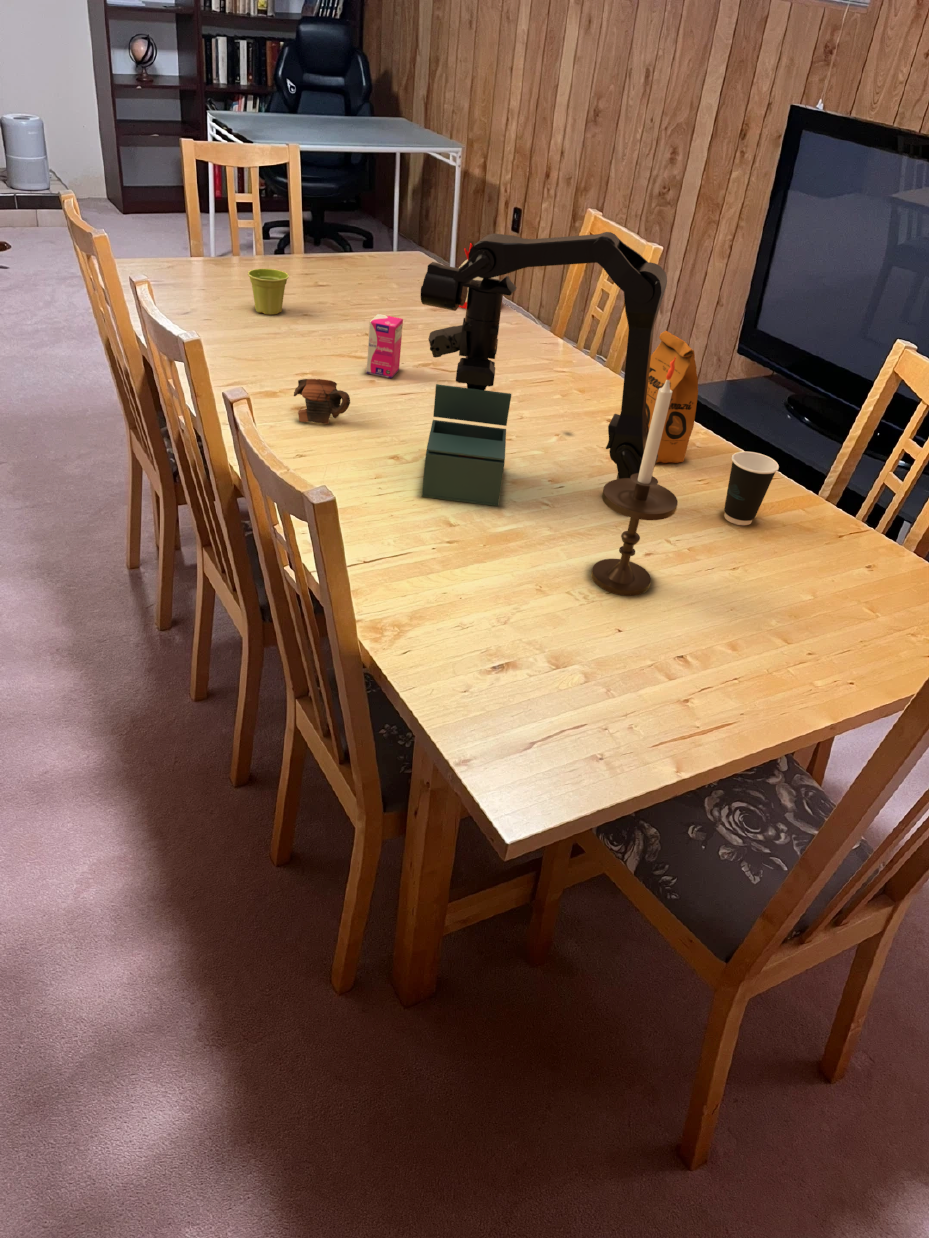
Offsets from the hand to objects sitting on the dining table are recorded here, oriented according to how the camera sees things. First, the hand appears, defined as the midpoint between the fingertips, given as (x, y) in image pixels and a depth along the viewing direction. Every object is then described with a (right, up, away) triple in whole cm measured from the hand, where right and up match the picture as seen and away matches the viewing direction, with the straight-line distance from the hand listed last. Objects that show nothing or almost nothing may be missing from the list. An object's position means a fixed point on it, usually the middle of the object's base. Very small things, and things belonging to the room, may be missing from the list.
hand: (472, 405), depth 170 cm
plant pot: (-48, +36, +63) cm, 87 cm away
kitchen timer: (+1, +46, +87) cm, 98 cm away
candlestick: (+23, -31, -20) cm, 44 cm away
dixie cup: (+46, -20, +1) cm, 50 cm away
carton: (-2, -13, 0) cm, 14 cm away
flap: (0, -1, -2) cm, 2 cm away
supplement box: (-19, +15, +39) cm, 46 cm away
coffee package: (+36, -5, +21) cm, 42 cm away
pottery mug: (-29, +1, +17) cm, 33 cm away
